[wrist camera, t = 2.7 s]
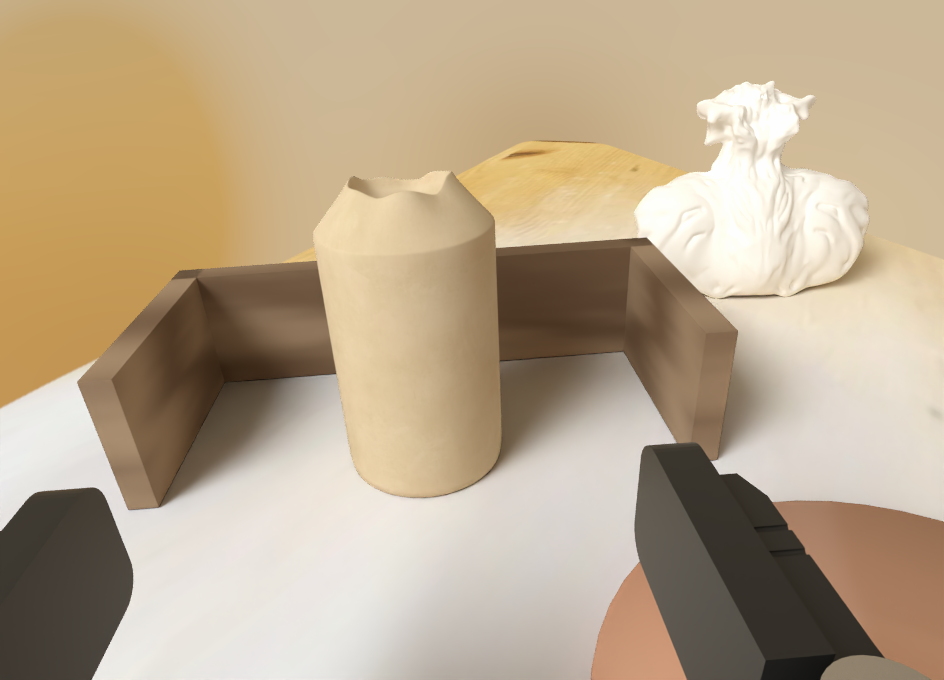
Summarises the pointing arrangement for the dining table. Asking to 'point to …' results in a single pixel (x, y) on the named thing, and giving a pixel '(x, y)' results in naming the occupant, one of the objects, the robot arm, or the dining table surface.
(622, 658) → the saucer
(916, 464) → the dining table surface
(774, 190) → the bust
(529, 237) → the dining table surface
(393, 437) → the candle
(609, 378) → the dining table surface
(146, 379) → the wooden frame
